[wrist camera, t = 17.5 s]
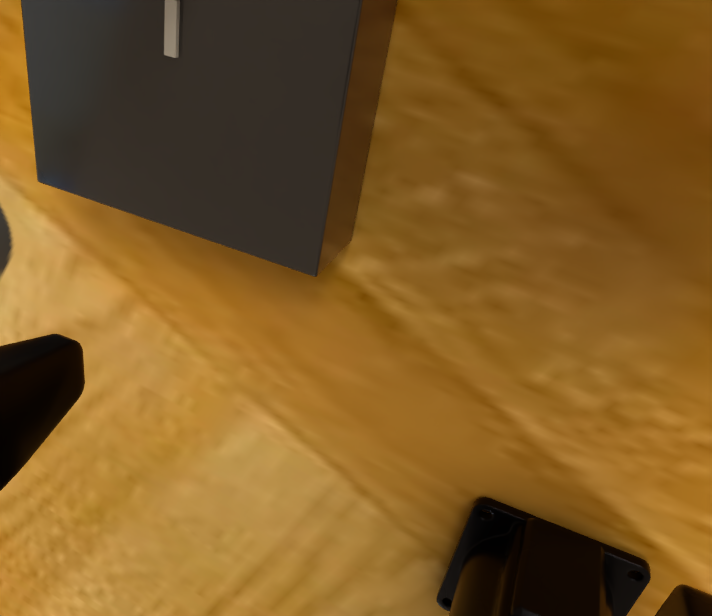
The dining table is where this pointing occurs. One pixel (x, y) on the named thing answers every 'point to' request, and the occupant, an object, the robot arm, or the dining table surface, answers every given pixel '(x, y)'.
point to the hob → (212, 114)
